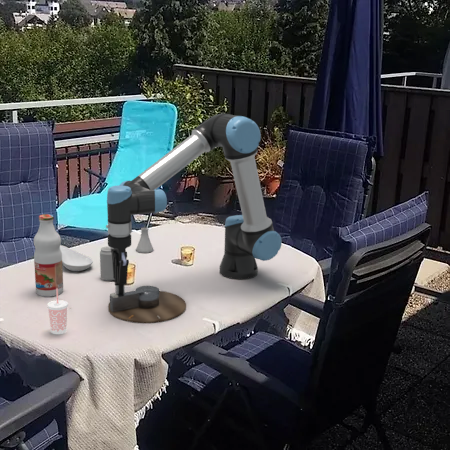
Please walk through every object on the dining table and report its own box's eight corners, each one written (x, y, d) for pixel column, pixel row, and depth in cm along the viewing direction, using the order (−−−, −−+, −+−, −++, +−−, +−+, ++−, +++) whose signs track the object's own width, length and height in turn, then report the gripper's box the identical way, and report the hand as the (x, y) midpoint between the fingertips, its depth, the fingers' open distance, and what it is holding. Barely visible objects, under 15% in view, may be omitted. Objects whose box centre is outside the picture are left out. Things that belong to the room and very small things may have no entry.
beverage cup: (44, 333, 192) (42, 290, 188) (56, 325, 197) (54, 283, 193) (61, 336, 190) (59, 293, 186) (73, 328, 195) (71, 286, 191)
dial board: (170, 289, 230) (170, 285, 230) (197, 316, 207) (197, 312, 207) (99, 298, 219) (99, 295, 219) (120, 328, 196) (120, 324, 196)
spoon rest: (99, 268, 249) (98, 251, 247) (76, 276, 240) (75, 258, 238) (59, 256, 262) (58, 239, 260) (36, 263, 253) (35, 246, 251)
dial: (152, 297, 218) (152, 282, 217) (163, 305, 212) (163, 289, 210) (106, 306, 209) (106, 291, 208) (116, 315, 203) (116, 299, 201)
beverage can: (114, 282, 235) (113, 251, 231) (97, 280, 236) (97, 250, 232) (120, 276, 241) (119, 246, 237) (104, 275, 242) (103, 245, 238)
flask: (144, 247, 277) (144, 225, 274) (156, 250, 273) (156, 228, 270) (132, 251, 271) (132, 228, 268) (145, 254, 267) (145, 232, 264)
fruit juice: (68, 292, 223) (65, 216, 216) (44, 299, 217) (40, 220, 209) (55, 285, 230) (51, 211, 222) (31, 291, 224) (26, 215, 216)
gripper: (103, 229, 207) (104, 296, 213) (113, 240, 196) (114, 310, 202) (125, 227, 210) (125, 293, 216) (136, 238, 199) (136, 307, 205)
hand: (120, 301), depth 209 cm, fingers closed
